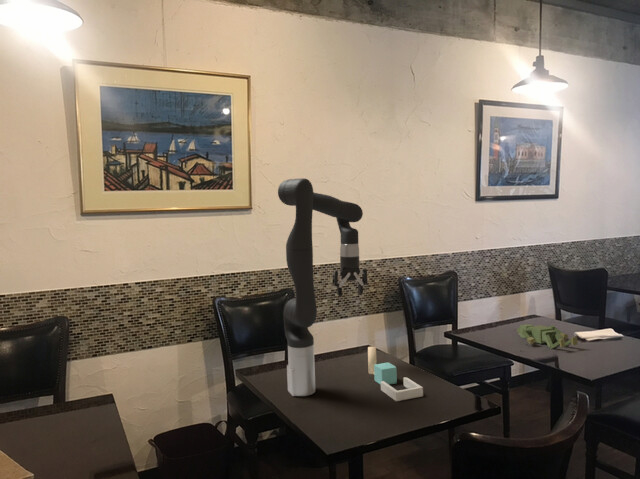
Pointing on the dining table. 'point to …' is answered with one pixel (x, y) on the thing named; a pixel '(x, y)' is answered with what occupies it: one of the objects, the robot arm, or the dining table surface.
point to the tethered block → (381, 369)
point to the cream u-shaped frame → (411, 392)
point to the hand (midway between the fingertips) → (350, 295)
